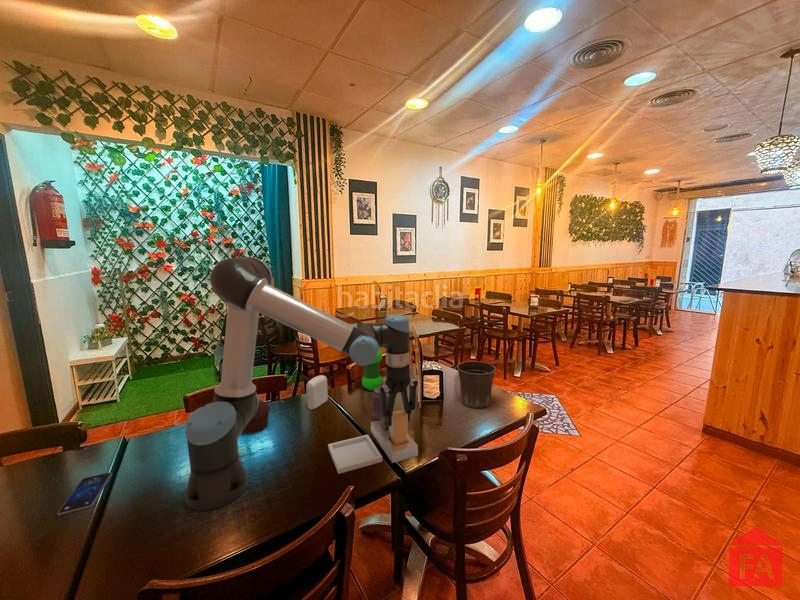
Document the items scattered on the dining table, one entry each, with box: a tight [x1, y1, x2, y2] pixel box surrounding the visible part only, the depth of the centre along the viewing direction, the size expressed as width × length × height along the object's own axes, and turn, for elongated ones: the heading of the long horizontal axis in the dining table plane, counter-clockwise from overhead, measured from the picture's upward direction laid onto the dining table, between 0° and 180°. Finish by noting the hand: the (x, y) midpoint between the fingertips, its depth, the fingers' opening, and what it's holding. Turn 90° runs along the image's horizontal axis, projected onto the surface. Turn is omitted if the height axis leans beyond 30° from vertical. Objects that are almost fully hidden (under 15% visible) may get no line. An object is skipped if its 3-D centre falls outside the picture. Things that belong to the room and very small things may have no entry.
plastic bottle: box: [361, 347, 383, 391], centre depth 158 cm, size 10×10×25 cm
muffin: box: [242, 399, 271, 434], centre depth 124 cm, size 12×11×10 cm
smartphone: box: [56, 471, 113, 517], centre depth 91 cm, size 7×1×15 cm
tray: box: [327, 434, 383, 475], centre depth 107 cm, size 14×14×2 cm
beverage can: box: [372, 387, 389, 421], centre depth 130 cm, size 7×7×12 cm
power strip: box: [370, 415, 419, 464], centre depth 113 cm, size 9×20×10 cm, turn 24°
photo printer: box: [305, 374, 329, 410], centre depth 142 cm, size 10×4×12 cm, turn 152°
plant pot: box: [456, 360, 497, 409], centre depth 143 cm, size 16×16×16 cm
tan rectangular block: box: [391, 409, 408, 446], centre depth 108 cm, size 4×4×10 cm
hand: (398, 432), depth 108 cm, fingers closed on tan rectangular block, 4 cm apart
